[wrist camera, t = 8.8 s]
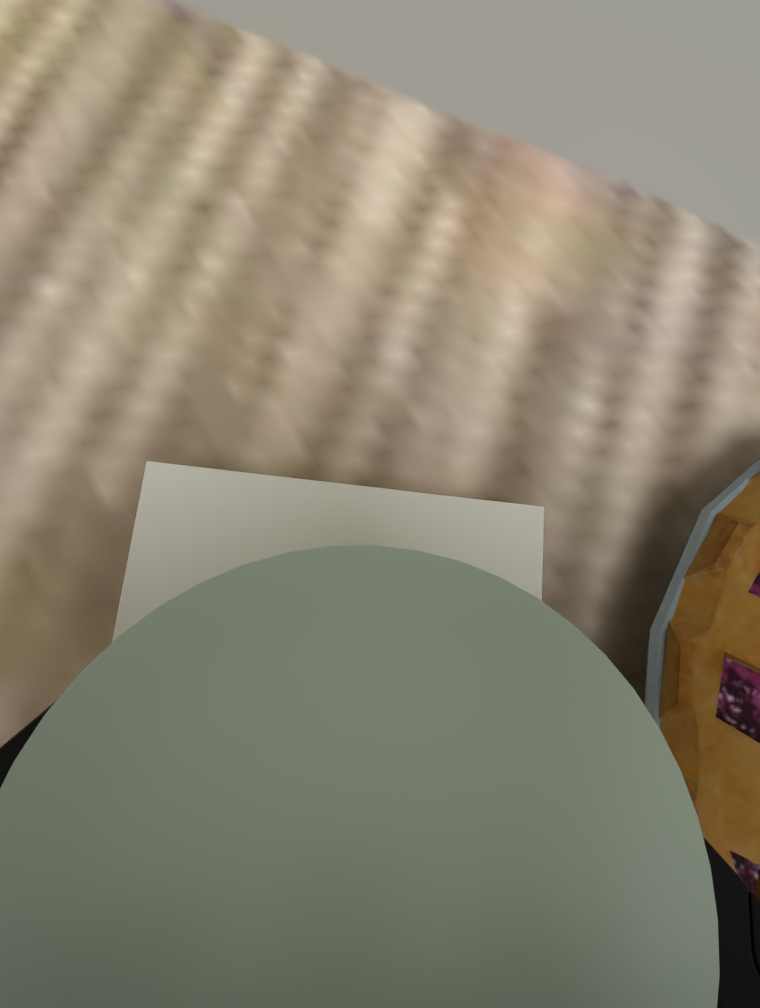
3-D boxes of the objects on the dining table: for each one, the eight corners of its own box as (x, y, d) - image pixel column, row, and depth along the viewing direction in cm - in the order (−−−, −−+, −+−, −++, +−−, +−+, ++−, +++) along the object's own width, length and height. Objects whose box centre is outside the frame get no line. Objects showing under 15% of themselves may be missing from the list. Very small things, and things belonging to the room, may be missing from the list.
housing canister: (359, 845, 14) (503, 1653, 3) (191, 734, 14) (-258, 1121, 3) (458, 667, 15) (819, 778, 4) (303, 566, 15) (262, 421, 4)
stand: (496, 896, 17) (533, 952, 14) (103, 876, 16) (55, 932, 13) (511, 523, 20) (544, 506, 17) (173, 485, 19) (146, 461, 16)
